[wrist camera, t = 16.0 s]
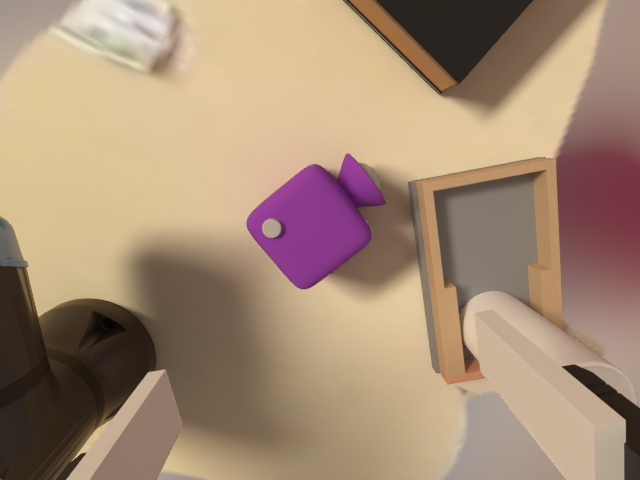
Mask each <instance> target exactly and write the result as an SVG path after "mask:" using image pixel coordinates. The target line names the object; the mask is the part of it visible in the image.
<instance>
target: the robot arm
mask: <svg viewBox="0 0 640 480" xmlns="http://www.w3.org/2000/svg"><path fill="white" fill-rule="evenodd" d="M26 267H28V263H27V261H25V260H24V259H23V256H22V253H21V251H20V248H19V244H18V241H17V238H16V235H15V232H14V229H13V227H12V226H11V224H10V223H9V222H8V221H7V220H5V219H4V218H2V217H1V216H0V480H157V478H158V476H159V474H160V472H161V470H162V468H163V466H164V464H165V461H166V459H167V457H168V455H169V453H170V451H171V449H172V447H173V445H174V443H175V441H176V439H177V437H178V434H179V432H180V430H181V428H182V426H183V423H182V419H181V416H180V413H179V410H178V406H177V403H176V400H175V397H174V394H173V390H172V387H171V384H170V381H169V377H168V374H167V371H166V369H164V370H158V371H155V366H156V355H155V349H154V345H153V342H152V340H151V337H150V336H149V334H148V332H147V330H146V329H145V328H144V326H143V325H142V324H141V323H140V321H139V320H138V319H137V318H135V317H134V316H133V315H132V314H131V313H129V312H128V311H126V310H125V309H123V308H121V307H119V306H117V305H115V304H113V303H110V302H106V301H103V300H97V299H76V300H71V301H68V302H65V303H62V304H60V305H58V306H56V307H54V308H53V309H51V310H49V311H48V312H46V313H44V314H43V315H41V316H40V317H39V318H38V315H37V311H36V306H35V302H34V298H33V294H32V289H31V285H30V281H29V277H28V272H27V268H26ZM474 315H475V325H476V335H477V344H478V354H479V364H480V372H481V373H482V374H483V376H484V377H485V378H486V379H487V381H488V382H489V383H490V384H491V386H492V387H493V388H494V389H495V391H496V392H497V393H498V394H499V396H500V397H501V398H502V399H503V401H504V402H505V403H506V404H507V406H508V407H509V408H510V409H511V411H512V412H513V413H514V414H515V416H516V417H517V418H518V420H519V421H520V422H521V423H522V425H523V426H524V427H525V428H526V430H527V431H528V432H529V433H530V435H531V436H532V437H533V438H534V440H535V441H536V442H537V443H538V445H539V446H540V447H541V449H542V450H543V451H544V452H545V454H546V455H547V456H548V457H549V458H550V460H551V461H552V462H553V463H554V465H555V466H556V467H557V469H558V470H559V471H560V472H561V474H562V475H563V476H564V477H565V479H566V480H640V408H639V407H638V406H636V405H635V404H634V403H633V402H631V401H630V400H629V399H627V398H626V397H625V396H623V395H622V394H621V393H618V392H617V390H615V389H614V388H613V387H611V386H610V385H609V384H606V382H605V381H603V380H602V379H601V378H600V377H598V376H597V375H596V374H594V373H593V372H591V371H589V370H587V369H584V368H582V367H580V366H577V365H575V364H573V365H567V366H562V367H561V366H560V365H559V364H558V363H556V362H555V361H554V360H553V359H551V358H550V357H549V356H548V355H547V354H545V353H544V352H543V351H542V350H541V349H539V348H538V347H537V346H536V345H535V344H533V343H532V342H531V341H530V340H529V339H527V338H526V337H525V336H524V335H523V334H521V333H520V332H519V331H518V330H517V329H515V328H514V327H513V326H512V325H511V324H509V323H508V322H507V321H506V320H505V319H503V318H502V317H501V316H500V315H499V314H497V313H496V312H495V311H494V310H487V311H482V312H477V313H474ZM111 419H112V420H111ZM110 420H111V422H110V423H109V424H108V426H107V427H106V428H105V430H104V431H103V432H102V434H101V435H100V436H99V437H98V439H97V440H96V441H95V443H94V444H93V445H92V447H91V448H90V449H89V451H88V452H87V453H82V454H80V455H79V456H78V457H77V458H75V459H74V460H73V458H74V457H75V456H76V454H77V453H78V452H79V451H80V449H81V448H82V447H83V445H84V444H85V443H86V441H87V440H88V439H89V437H90V436H91V435H92V434H93V432H94V431H95V430H96V429H97V428H98V427H100V426H102V425H103V424H105V423H106V422H108V421H110ZM72 460H73V461H72ZM71 461H72V462H71ZM70 462H71V463H70Z"/></svg>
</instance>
